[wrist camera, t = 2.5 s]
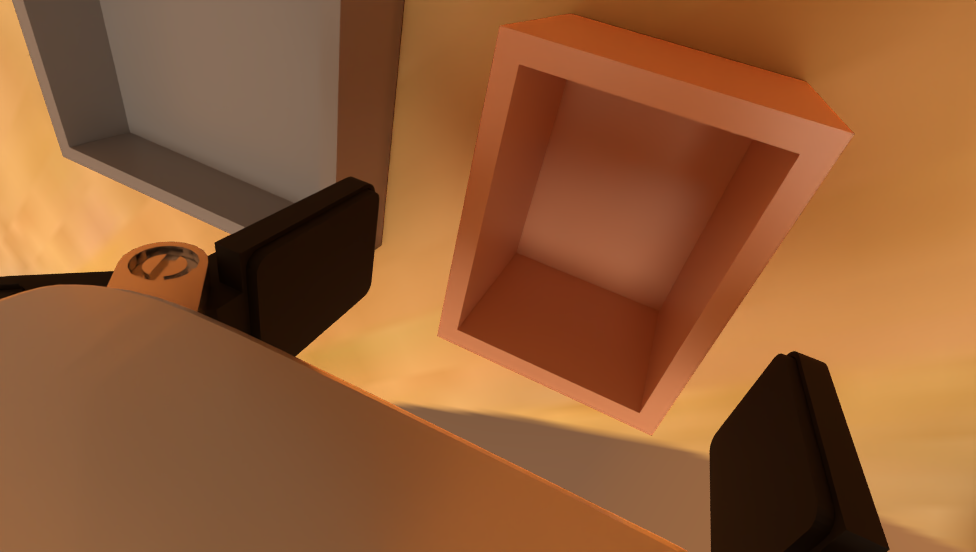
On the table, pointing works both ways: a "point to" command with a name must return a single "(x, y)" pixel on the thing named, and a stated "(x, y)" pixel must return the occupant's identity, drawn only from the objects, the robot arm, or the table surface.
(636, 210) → the crate small
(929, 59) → the table surface
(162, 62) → the tray
